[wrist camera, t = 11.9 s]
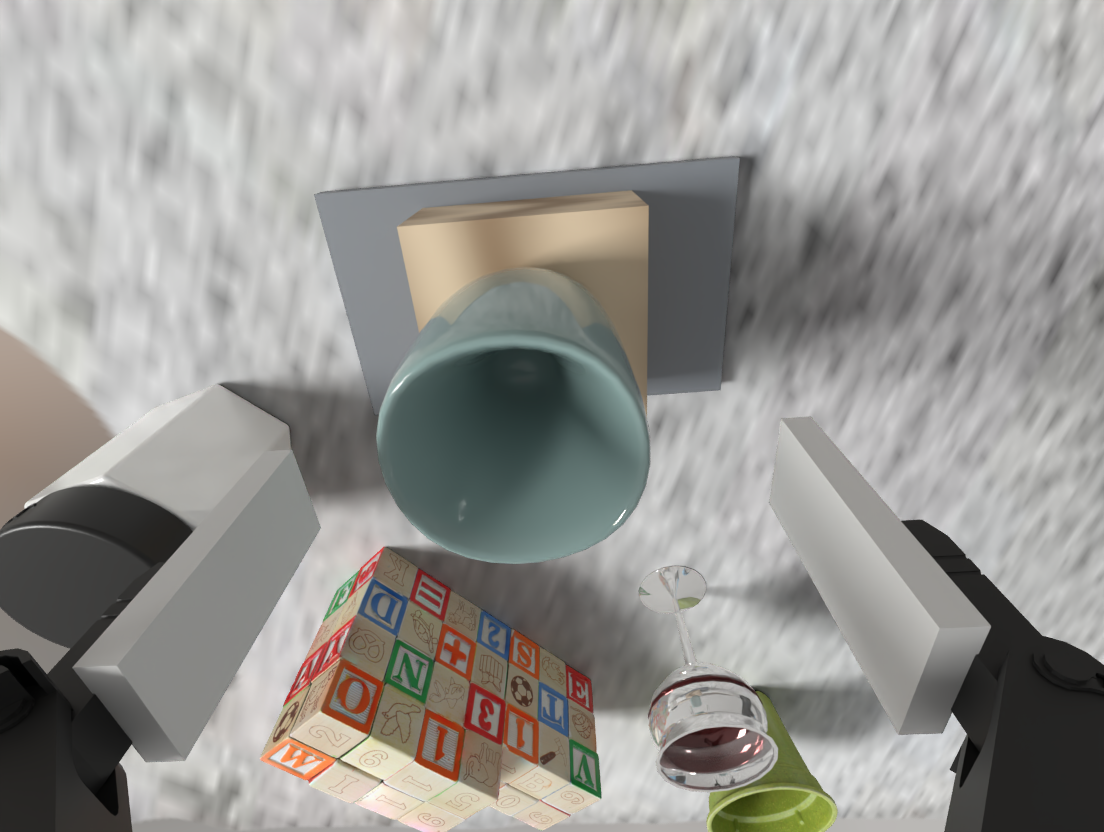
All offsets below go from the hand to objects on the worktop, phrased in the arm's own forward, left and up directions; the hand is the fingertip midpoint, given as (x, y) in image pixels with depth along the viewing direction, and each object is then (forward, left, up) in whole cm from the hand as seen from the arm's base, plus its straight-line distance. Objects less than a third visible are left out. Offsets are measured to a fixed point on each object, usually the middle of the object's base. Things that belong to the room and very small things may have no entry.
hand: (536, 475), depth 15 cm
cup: (+1, 0, -11) cm, 11 cm away
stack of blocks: (+8, +27, -17) cm, 32 cm away
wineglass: (-8, +23, -17) cm, 29 cm away
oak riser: (0, 0, -15) cm, 15 cm away
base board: (0, 0, -16) cm, 16 cm away
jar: (+20, +8, -17) cm, 27 cm away
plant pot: (-14, +38, -17) cm, 43 cm away
